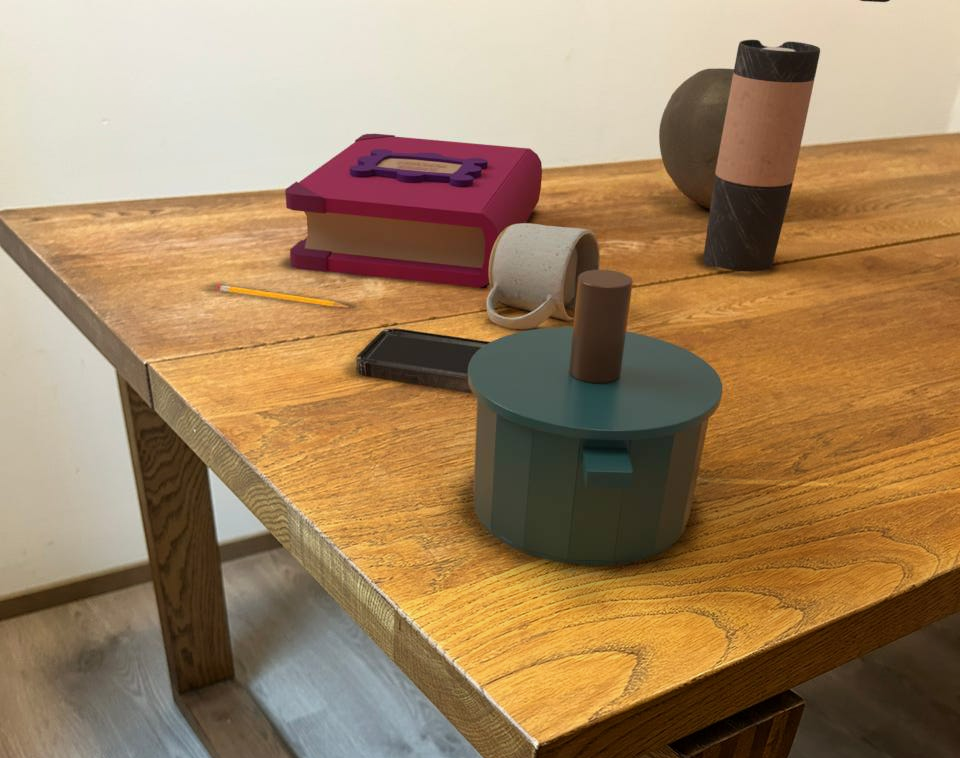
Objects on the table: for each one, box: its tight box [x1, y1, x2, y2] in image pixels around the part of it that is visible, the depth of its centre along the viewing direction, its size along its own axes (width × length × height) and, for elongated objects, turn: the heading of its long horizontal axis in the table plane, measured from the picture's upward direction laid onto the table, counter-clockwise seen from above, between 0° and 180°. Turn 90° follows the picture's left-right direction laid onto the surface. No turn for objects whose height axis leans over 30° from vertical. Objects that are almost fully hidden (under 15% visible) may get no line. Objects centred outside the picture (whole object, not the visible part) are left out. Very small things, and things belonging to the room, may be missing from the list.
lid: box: [468, 269, 723, 440], centre depth 57 cm, size 15×15×7 cm
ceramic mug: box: [485, 222, 601, 330], centre depth 88 cm, size 11×8×8 cm
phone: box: [355, 327, 491, 394], centre depth 80 cm, size 8×1×15 cm
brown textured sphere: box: [658, 67, 734, 210], centre depth 117 cm, size 14×14×15 cm
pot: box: [472, 398, 710, 566], centre depth 61 cm, size 14×19×8 cm
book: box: [284, 133, 543, 289], centre depth 105 cm, size 21×28×8 cm
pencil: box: [214, 284, 349, 308], centre depth 91 cm, size 1×13×1 cm, turn 74°
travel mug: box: [702, 39, 821, 272], centre depth 98 cm, size 8×8×20 cm
